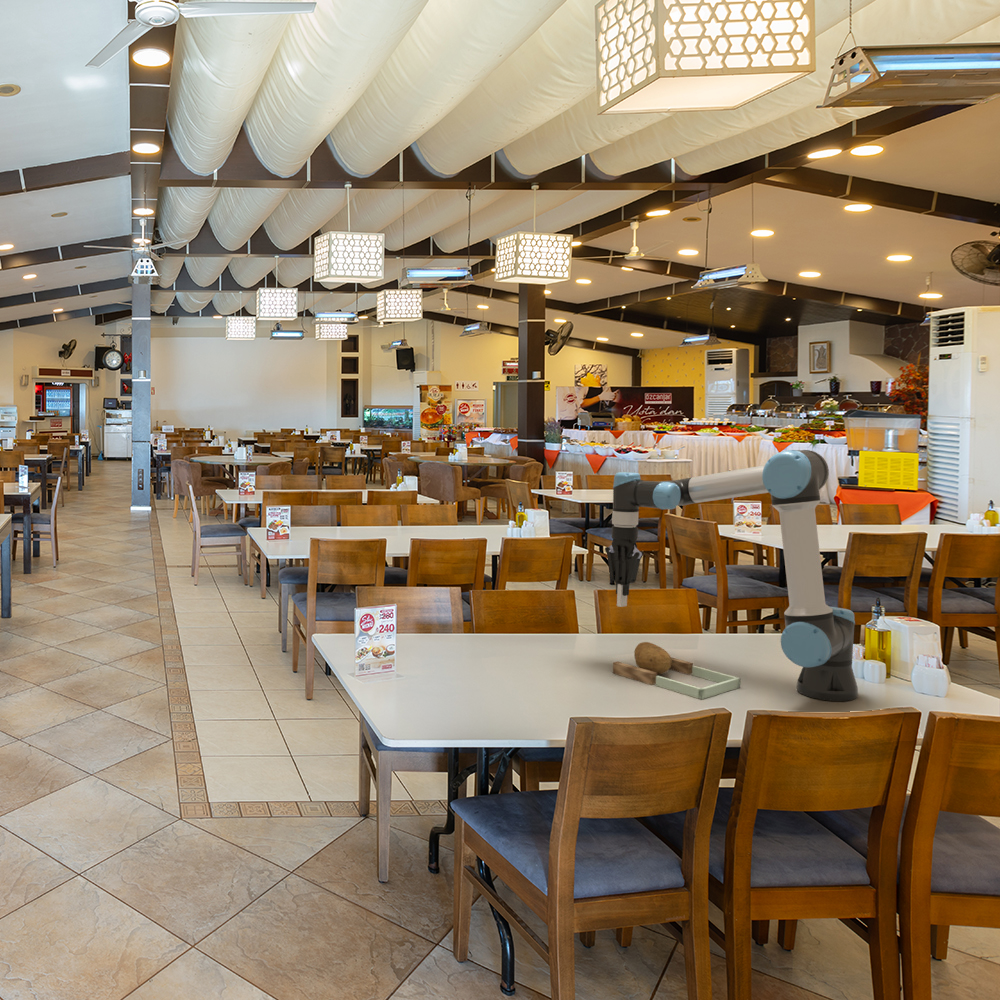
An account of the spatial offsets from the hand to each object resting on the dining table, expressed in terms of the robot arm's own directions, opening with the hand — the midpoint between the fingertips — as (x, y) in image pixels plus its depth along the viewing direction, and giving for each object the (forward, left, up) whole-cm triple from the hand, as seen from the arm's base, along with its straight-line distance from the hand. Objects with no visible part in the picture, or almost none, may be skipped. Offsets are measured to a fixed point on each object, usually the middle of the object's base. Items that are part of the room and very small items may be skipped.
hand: (621, 605), depth 254 cm
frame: (-28, 0, -17) cm, 33 cm away
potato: (-12, 0, -18) cm, 21 cm away
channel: (-12, 0, -17) cm, 21 cm away
